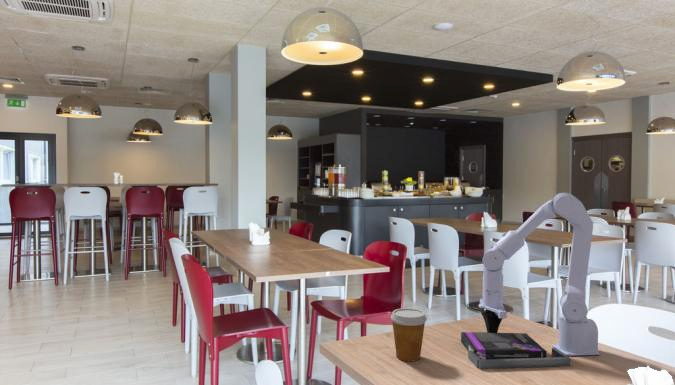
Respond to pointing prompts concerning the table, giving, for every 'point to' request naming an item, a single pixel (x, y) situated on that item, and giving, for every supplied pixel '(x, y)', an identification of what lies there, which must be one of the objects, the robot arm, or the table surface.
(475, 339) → the box
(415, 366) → the table surface
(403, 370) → the table surface
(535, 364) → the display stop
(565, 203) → the robot arm
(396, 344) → the disposable coffee cup
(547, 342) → the table surface
